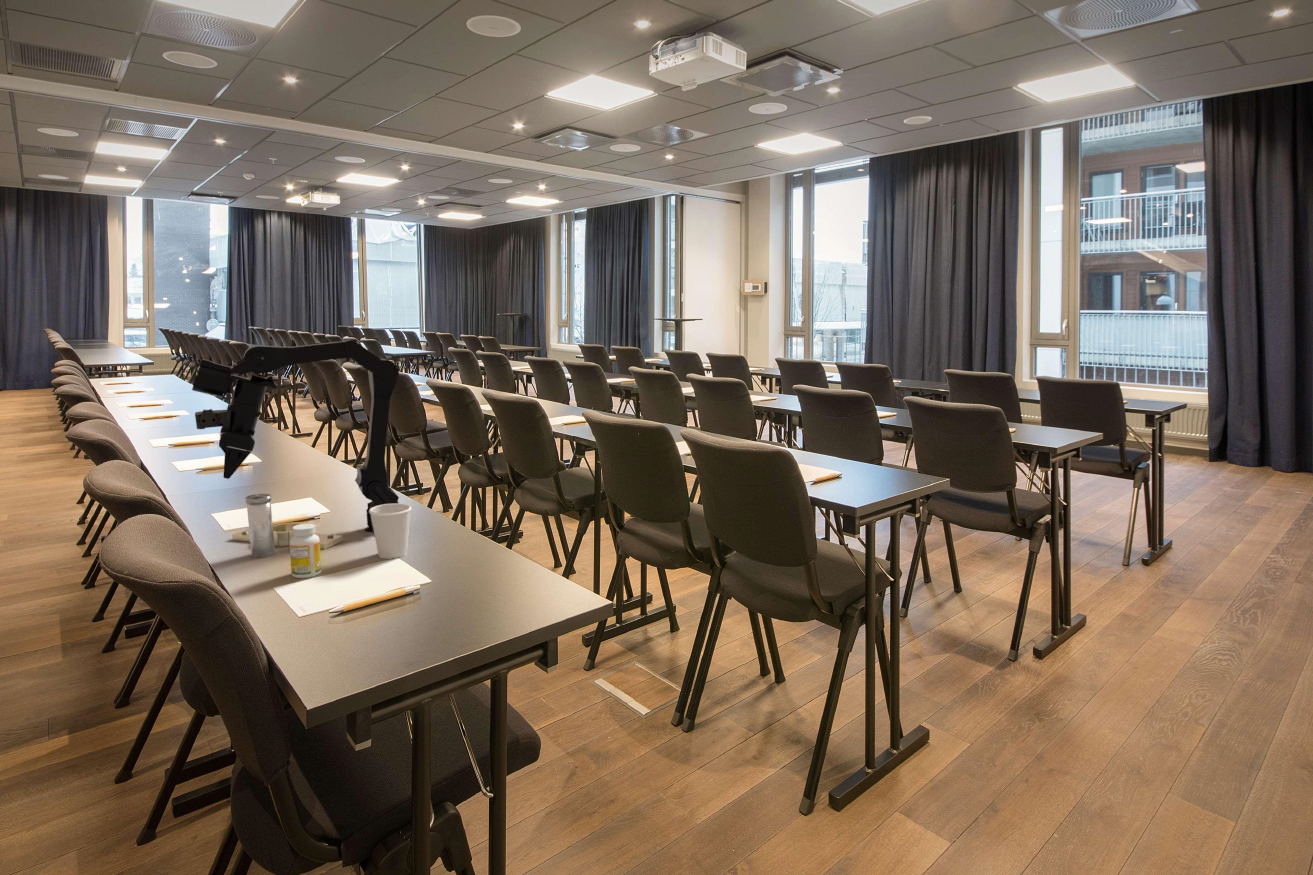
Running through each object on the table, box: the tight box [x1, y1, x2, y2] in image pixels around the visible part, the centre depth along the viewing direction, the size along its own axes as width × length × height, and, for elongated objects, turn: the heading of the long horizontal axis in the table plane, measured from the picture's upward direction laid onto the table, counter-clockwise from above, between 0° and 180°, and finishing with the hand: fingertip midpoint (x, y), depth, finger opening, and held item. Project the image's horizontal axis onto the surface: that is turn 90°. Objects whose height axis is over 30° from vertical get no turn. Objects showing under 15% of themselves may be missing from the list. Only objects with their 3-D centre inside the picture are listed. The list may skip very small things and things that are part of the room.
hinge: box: [232, 521, 344, 550], centre depth 171 cm, size 24×8×3 cm, turn 75°
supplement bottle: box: [289, 523, 322, 579], centre depth 149 cm, size 5×5×10 cm
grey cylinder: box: [244, 493, 276, 559], centre depth 160 cm, size 5×5×12 cm
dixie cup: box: [369, 503, 412, 560], centre depth 161 cm, size 8×8×10 cm
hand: (226, 473), depth 163 cm, fingers open, 9 cm apart
